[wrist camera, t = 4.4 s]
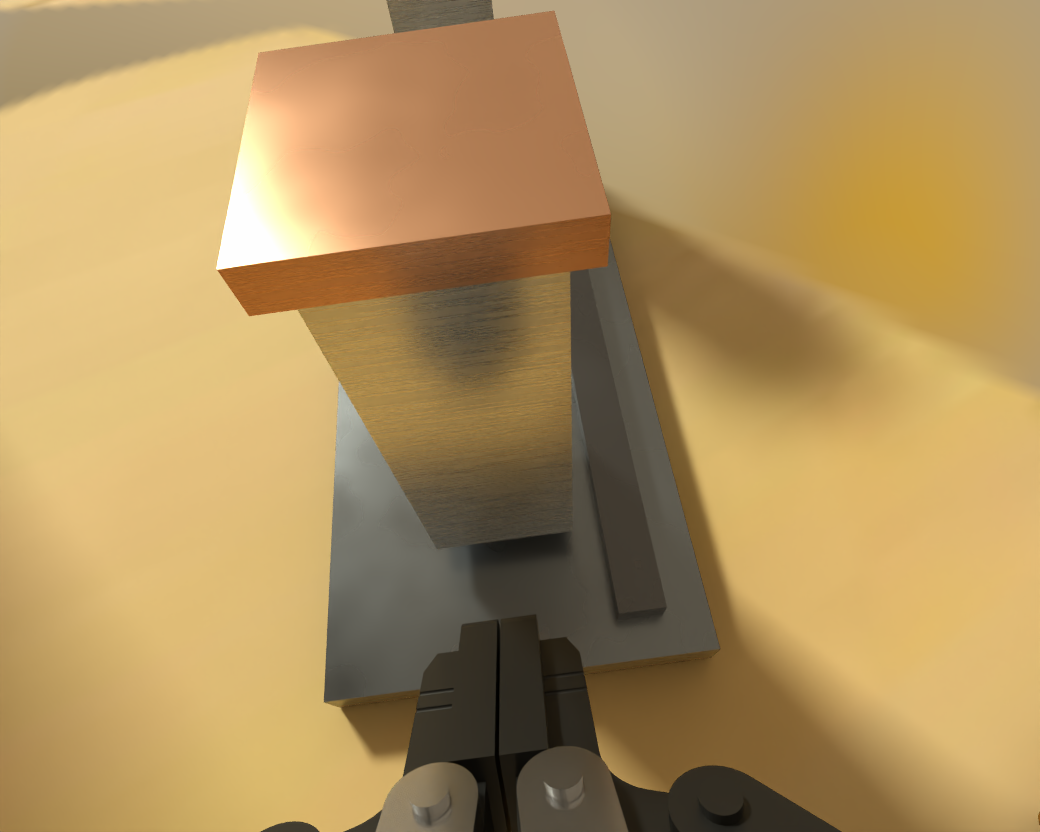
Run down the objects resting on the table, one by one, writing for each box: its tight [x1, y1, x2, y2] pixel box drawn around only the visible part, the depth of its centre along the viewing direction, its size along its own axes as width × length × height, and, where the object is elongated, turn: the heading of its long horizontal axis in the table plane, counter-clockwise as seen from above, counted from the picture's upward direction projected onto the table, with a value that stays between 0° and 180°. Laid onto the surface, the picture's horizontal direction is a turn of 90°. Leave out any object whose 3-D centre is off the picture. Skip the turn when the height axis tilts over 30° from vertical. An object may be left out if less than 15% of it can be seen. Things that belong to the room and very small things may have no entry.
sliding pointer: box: [217, 11, 611, 549], centre depth 13 cm, size 4×4×11 cm
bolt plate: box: [324, 0, 720, 707], centre depth 19 cm, size 30×10×13 cm, turn 6°
